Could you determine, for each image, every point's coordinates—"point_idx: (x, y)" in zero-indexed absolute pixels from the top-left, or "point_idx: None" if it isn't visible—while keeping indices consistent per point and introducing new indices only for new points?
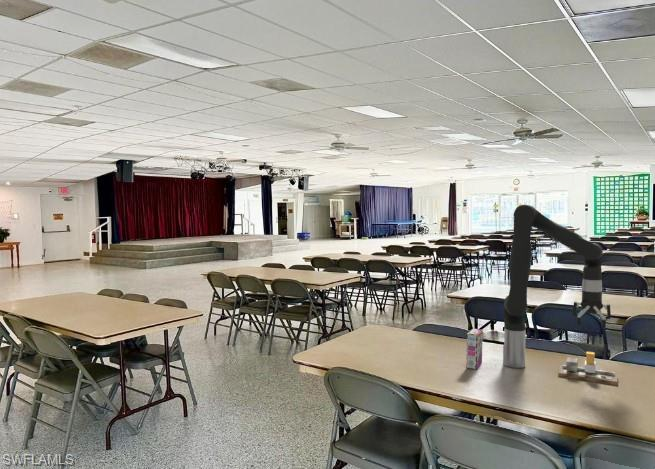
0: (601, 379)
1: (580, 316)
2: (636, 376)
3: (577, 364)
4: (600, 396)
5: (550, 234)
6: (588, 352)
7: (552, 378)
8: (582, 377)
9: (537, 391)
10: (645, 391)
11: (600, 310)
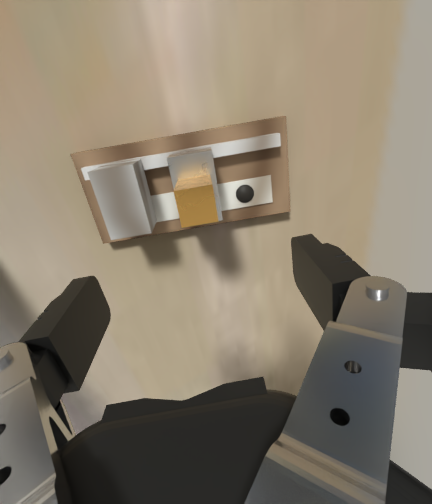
0: (241, 219)
1: (63, 417)
2: (354, 31)
3: (139, 168)
4: (252, 321)
5: None
6: (186, 205)
7: (103, 270)
8: (182, 228)
9: (119, 377)
10: (364, 208)
11: (397, 384)
